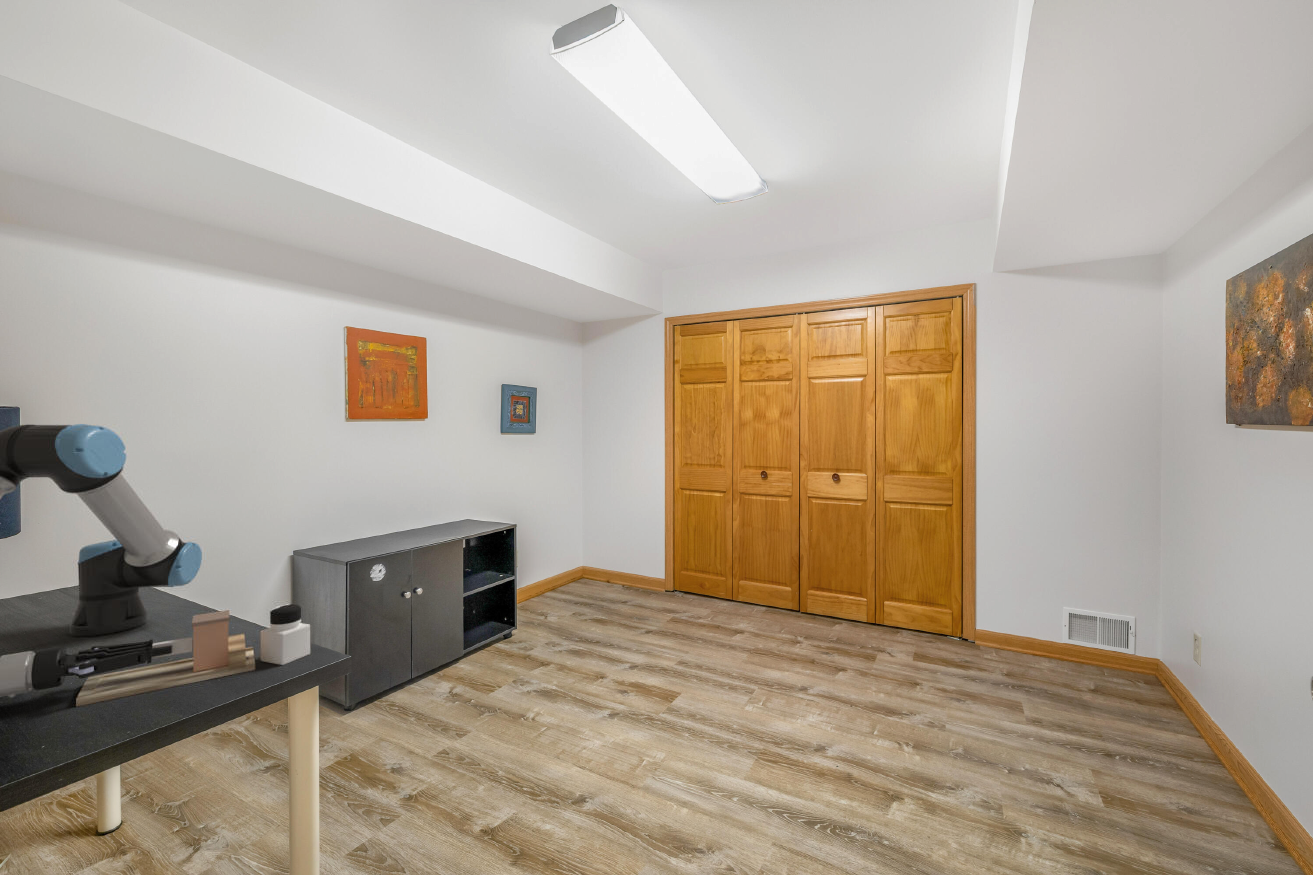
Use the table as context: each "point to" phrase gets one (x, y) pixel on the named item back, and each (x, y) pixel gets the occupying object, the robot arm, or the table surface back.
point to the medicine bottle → (285, 636)
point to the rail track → (163, 675)
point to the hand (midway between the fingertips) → (192, 644)
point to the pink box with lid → (210, 640)
